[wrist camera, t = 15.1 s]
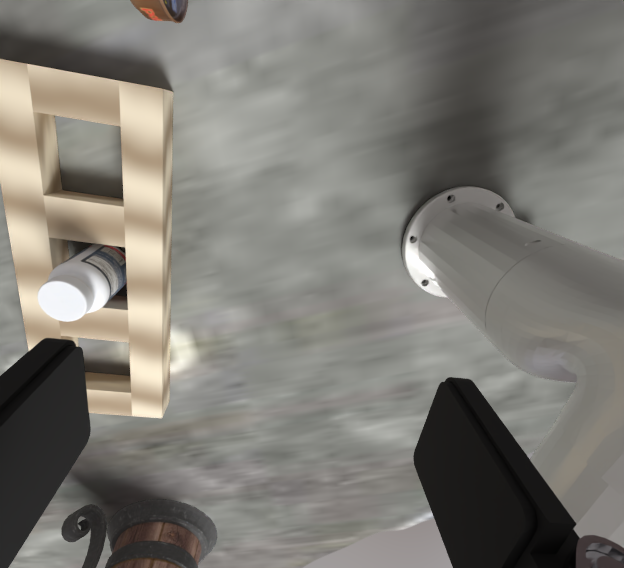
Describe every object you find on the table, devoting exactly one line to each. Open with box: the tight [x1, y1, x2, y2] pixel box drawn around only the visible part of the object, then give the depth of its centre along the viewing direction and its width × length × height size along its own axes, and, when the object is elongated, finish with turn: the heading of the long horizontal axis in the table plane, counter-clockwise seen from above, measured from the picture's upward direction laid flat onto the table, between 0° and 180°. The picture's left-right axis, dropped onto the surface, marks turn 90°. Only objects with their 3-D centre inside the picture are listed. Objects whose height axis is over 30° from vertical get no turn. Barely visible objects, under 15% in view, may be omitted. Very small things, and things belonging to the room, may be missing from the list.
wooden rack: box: [0, 59, 173, 418], centre depth 38 cm, size 36×14×3 cm, turn 171°
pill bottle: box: [37, 244, 127, 322], centre depth 35 cm, size 5×5×9 cm
